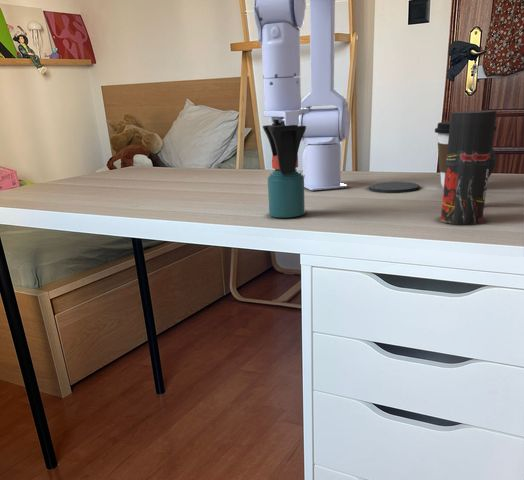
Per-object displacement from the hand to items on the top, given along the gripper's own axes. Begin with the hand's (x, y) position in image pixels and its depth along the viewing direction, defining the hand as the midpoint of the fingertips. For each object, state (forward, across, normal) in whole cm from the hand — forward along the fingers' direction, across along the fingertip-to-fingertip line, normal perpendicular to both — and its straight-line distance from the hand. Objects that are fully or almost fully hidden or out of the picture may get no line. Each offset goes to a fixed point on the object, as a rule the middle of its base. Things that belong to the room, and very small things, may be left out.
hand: (285, 171), depth 86 cm
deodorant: (+7, -14, -24) cm, 29 cm away
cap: (-2, 0, 0) cm, 2 cm away
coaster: (+7, +17, -26) cm, 32 cm away
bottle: (+7, 0, 0) cm, 7 cm away
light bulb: (+7, -5, -30) cm, 32 cm away
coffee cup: (+7, +12, -37) cm, 40 cm away
